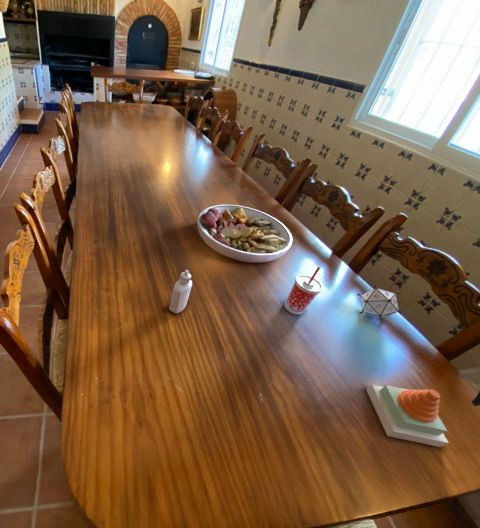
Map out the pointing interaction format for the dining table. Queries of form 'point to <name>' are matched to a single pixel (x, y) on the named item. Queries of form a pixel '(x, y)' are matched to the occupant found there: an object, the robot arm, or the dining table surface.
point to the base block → (392, 428)
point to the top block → (406, 420)
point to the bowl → (243, 233)
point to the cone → (420, 404)
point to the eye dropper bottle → (181, 292)
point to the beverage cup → (303, 293)
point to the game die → (379, 303)
